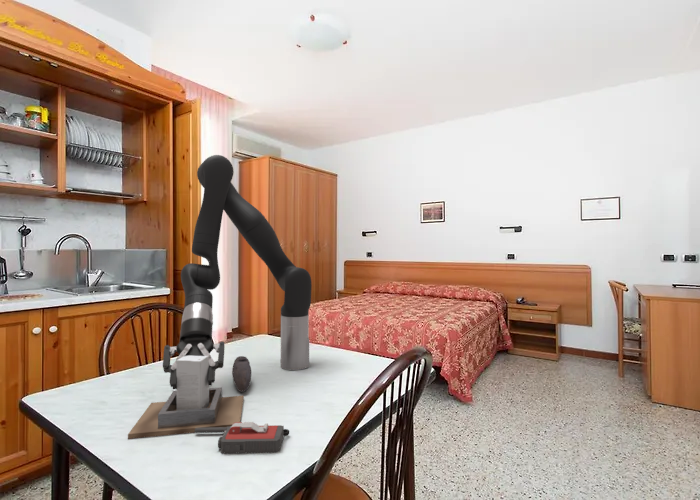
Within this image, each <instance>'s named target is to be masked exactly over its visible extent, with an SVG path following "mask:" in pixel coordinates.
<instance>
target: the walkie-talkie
mask: <svg viewBox="0 0 700 500" xmlns="http://www.w3.org/2000/svg"><path fill="white" fill-rule="evenodd" d="M206 433H207V434H219V433H220V434H222V433H223V435H222V436H219V437H218V442H217V448H218V449H220V453H221V454H222V455H225V454H229V455H231V454H232V455H233V454H237V455H238V454H241V455H242V454H276V453H279V452H281V448H282V445H283V441H284V437H285V436H289V435H290V430H289V429H287V428H284V425H269V423H264V425H258V424H257V423H256V422H254V421H245V422H242V421H240V422H235V423H233V425H232V426H228V427H208V428H196V429H195V434H206Z"/></svg>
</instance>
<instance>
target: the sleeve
mask: <svg viewBox="0 0 700 500" xmlns="http://www.w3.org/2000/svg"><path fill="white" fill-rule="evenodd" d="M222 391H223V386H221V387H209V402H212V403H211V406H210V408H202V409H190V410H178V411H174V410H175V408H176V406H177V401H176V395H177V394H176V390H173V391H172V393H171V394H170V395H169V397H168V399H166V401H165V402H166V403H165V405H164V406H163V408H162V409H161V411H160V412H159V414H158V429H159V428H169V427H180V426H191V425H202V424H213V423H215V421H216V417H217V414H218V410H219V407H220V404H221V400H222V397H223V392H222Z"/></svg>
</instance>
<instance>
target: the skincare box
mask: <svg viewBox="0 0 700 500" xmlns="http://www.w3.org/2000/svg"><path fill="white" fill-rule="evenodd" d="M175 361H176V376H177V384H176V389H175V391H176V394H177V395H176V401H177V411H178V410H190V409H202V408H207V407H208V406H209V388H210V386H208V374H209V356H188V355H186V356H184V357H182V358H180V359H178V360H175Z"/></svg>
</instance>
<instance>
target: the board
mask: <svg viewBox="0 0 700 500" xmlns="http://www.w3.org/2000/svg"><path fill="white" fill-rule="evenodd" d="M244 396H245V395H234V396H222V400H221V404H220V407H219V410H218V414H217V417H216V421H215V423H213V424H202V425H191V426H180V427H169V428H159V429H158V414H159V412H160V411H161V409H162V408H163V406H164V405H165V403H166V401H158V402H155V401H154V402H151V403H150V404H149V405H148V407H147V408H146V409H145V411H144V412H143V413H142V414H141V415H140V417H139V419H138V420H137V422H136V423H134V425H133V426H132V428H131V429H130V431H129V432H128V434H127V439H128V440H132V439H142V438H151V437H152V438H153V437H154V438H155V437H161V436H162V437H164V436H173V435H182V434H184V435H185V434H192V433H193V434H194V433H195V429H196V428H208V427H228V426H232V425H233V423H235V422H242V421H241V420H242V413H243V406H244V399H245V398H244ZM211 403H212V402H209V406H208V407H207V408H210V406H211ZM174 411H177V406H176V408H175V410H174ZM195 434H196V433H195Z"/></svg>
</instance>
